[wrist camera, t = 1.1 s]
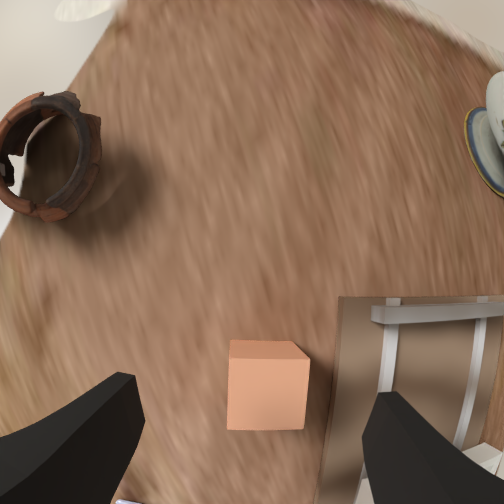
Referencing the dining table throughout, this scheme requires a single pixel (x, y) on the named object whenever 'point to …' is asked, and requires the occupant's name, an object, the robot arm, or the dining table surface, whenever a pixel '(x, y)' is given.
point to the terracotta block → (267, 385)
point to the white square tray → (479, 454)
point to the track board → (408, 374)
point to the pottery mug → (13, 142)
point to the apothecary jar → (488, 135)
